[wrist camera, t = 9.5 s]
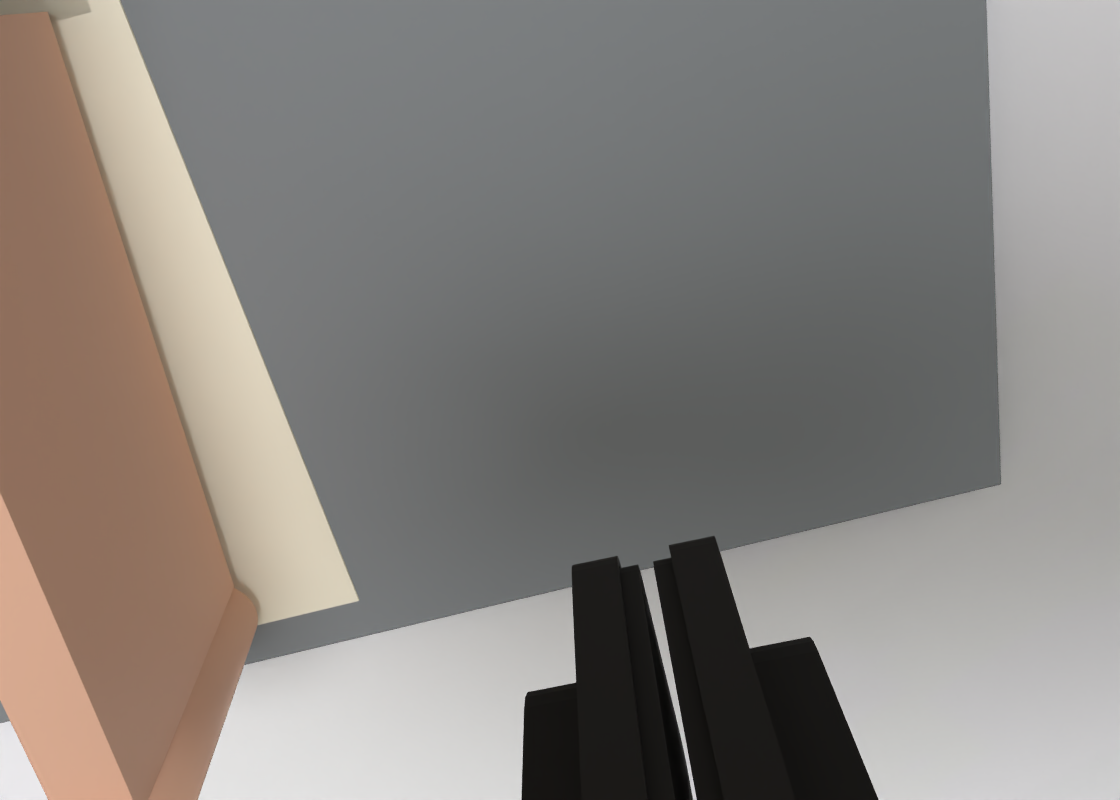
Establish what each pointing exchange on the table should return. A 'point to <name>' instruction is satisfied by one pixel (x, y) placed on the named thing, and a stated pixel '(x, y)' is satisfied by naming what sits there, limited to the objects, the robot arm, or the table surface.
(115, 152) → the mat
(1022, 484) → the table surface
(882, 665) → the table surface
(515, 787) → the table surface
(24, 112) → the fence swing section
